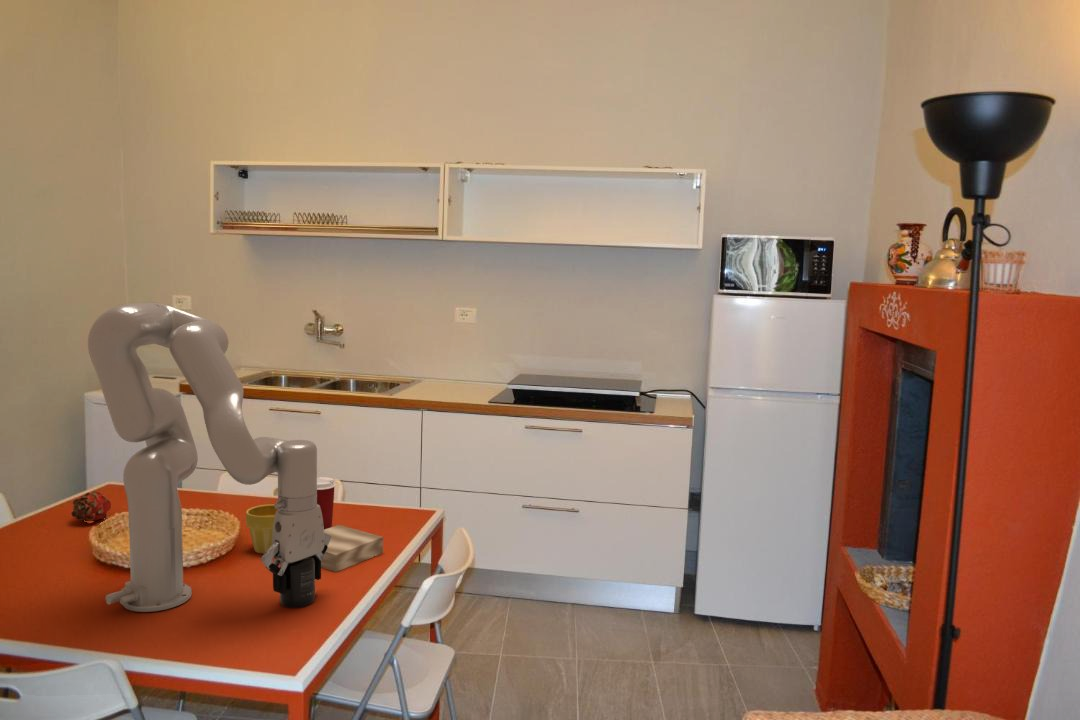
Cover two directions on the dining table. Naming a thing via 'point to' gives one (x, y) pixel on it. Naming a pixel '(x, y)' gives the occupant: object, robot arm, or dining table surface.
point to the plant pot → (261, 526)
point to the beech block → (349, 547)
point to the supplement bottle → (299, 583)
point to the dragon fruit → (91, 507)
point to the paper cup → (326, 499)
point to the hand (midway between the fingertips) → (297, 584)
